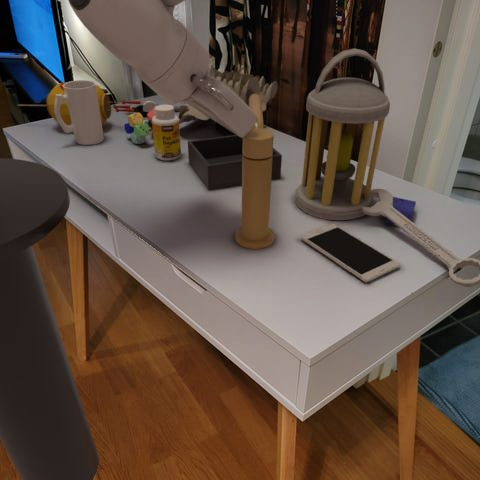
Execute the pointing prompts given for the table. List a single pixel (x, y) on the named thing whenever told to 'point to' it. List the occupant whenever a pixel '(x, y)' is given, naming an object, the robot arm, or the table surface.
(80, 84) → the mug
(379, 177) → the table surface
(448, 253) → the wrench
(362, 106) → the lantern
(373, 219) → the table surface
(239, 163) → the tray
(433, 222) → the table surface
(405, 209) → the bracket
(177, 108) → the pen
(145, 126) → the dice
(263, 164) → the faucet column
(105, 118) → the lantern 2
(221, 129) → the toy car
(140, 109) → the watch
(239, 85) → the seashell
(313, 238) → the smartphone
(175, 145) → the supplement bottle
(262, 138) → the spout
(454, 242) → the table surface
